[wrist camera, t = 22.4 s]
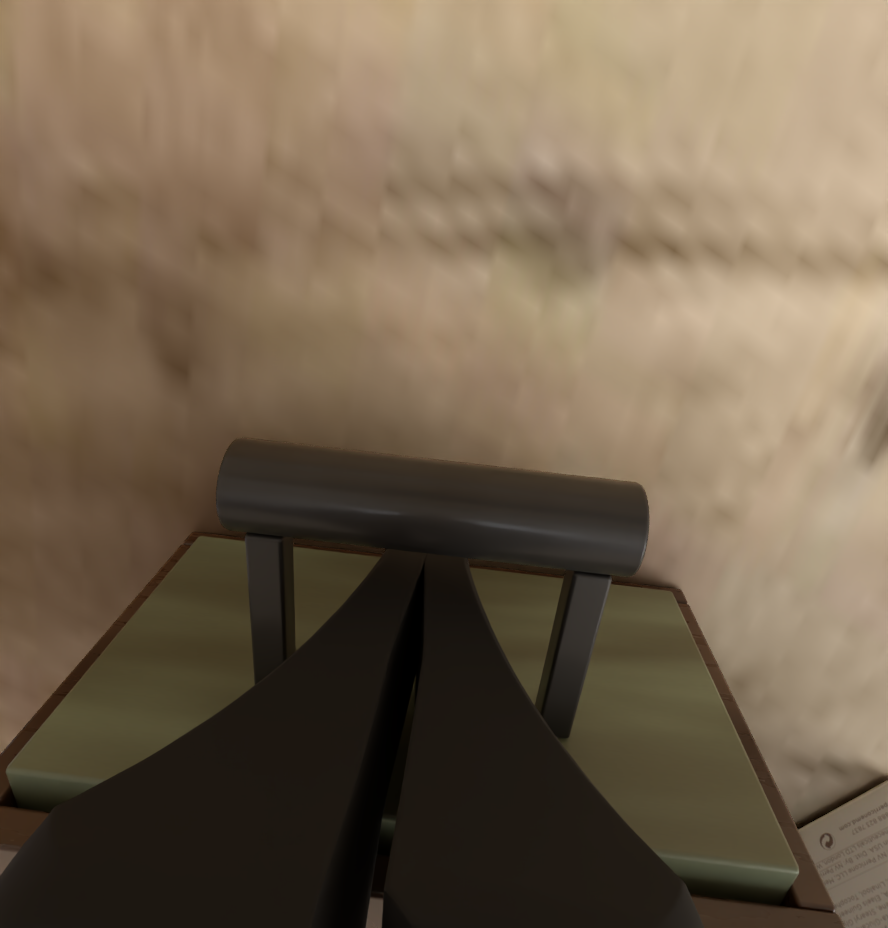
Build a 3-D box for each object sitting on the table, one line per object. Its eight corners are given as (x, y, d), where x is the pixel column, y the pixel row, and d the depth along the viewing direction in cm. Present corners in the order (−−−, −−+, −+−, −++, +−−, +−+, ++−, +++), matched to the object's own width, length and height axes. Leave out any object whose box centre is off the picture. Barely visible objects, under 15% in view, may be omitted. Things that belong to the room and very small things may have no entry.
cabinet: (191, 530, 16) (-75, 837, 8) (681, 588, 15) (864, 960, 8) (226, 833, 21) (87, 1175, 14) (583, 879, 21) (635, 1253, 14)
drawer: (178, 343, 13) (-102, 482, 7) (734, 405, 12) (966, 607, 6) (231, 834, 20) (122, 1108, 14) (577, 878, 20) (616, 1176, 14)
